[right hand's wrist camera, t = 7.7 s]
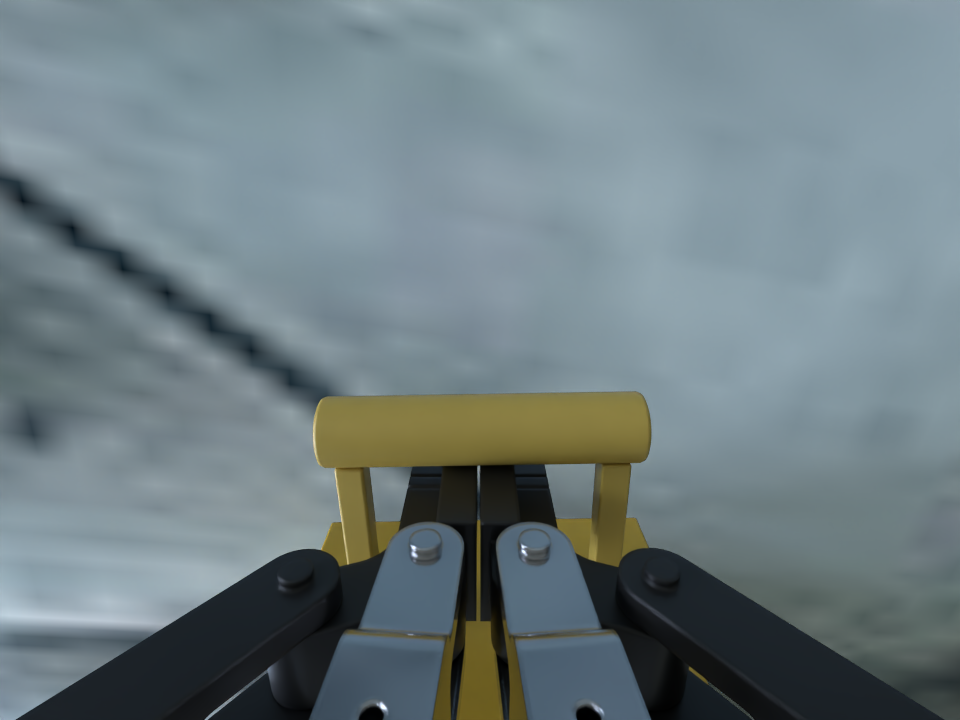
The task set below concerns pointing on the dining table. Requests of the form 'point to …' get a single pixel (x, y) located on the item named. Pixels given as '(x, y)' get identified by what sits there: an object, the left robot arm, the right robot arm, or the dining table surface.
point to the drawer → (484, 441)
